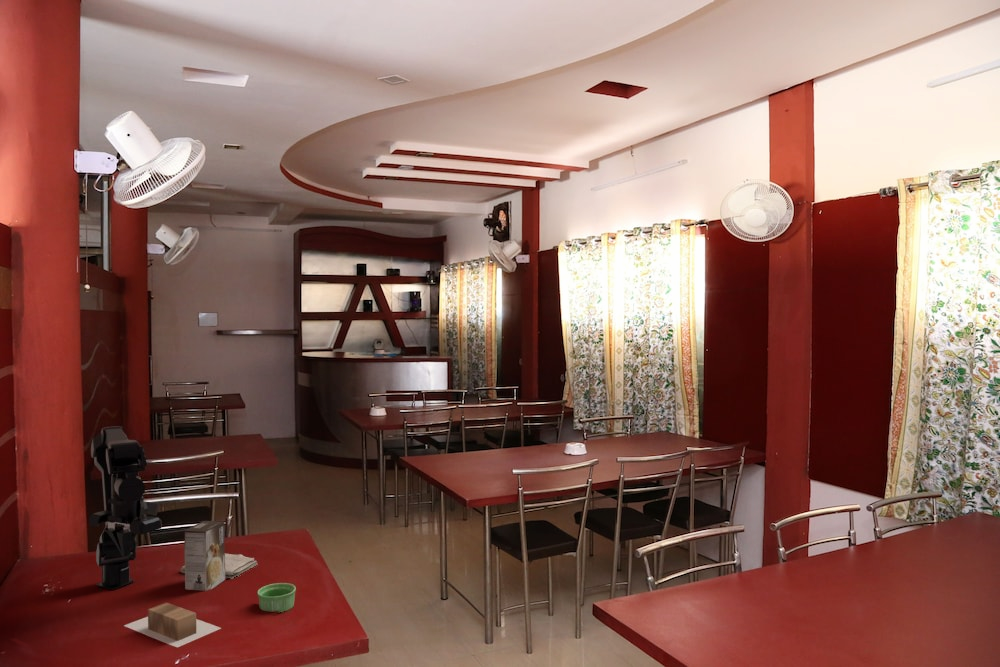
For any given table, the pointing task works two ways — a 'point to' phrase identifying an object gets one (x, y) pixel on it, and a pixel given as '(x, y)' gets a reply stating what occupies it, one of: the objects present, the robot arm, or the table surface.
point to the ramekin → (276, 597)
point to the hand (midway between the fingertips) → (125, 556)
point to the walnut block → (172, 621)
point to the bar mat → (201, 631)
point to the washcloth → (235, 565)
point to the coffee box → (204, 555)
